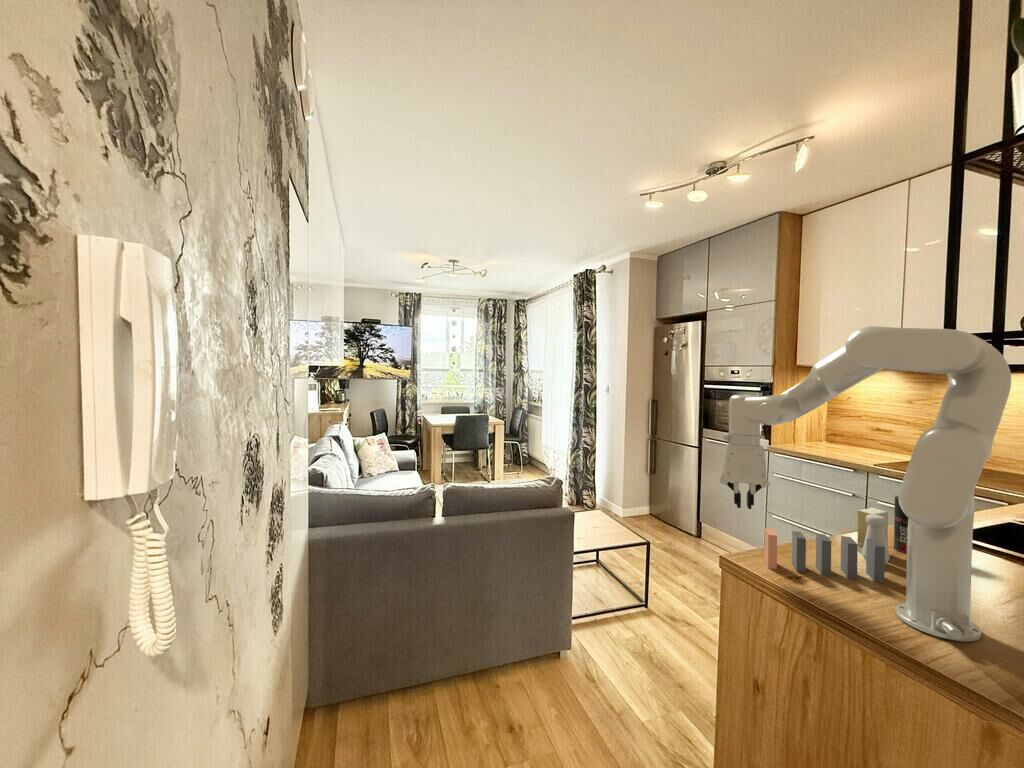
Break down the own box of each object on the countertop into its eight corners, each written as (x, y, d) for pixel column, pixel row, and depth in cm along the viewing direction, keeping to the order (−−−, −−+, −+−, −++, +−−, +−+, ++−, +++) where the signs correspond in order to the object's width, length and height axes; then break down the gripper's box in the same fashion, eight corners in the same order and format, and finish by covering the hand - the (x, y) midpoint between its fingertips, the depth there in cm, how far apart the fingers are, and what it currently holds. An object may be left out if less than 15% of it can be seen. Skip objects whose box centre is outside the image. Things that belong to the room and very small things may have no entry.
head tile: (776, 569, 116) (777, 535, 116) (768, 568, 117) (768, 534, 117) (773, 561, 121) (773, 529, 121) (764, 560, 122) (765, 528, 121)
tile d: (884, 583, 108) (884, 547, 108) (874, 582, 109) (874, 546, 109) (875, 574, 113) (876, 539, 113) (866, 573, 114) (866, 538, 113)
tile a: (805, 573, 114) (805, 538, 114) (796, 571, 115) (796, 537, 114) (800, 565, 119) (800, 531, 118) (791, 563, 119) (792, 531, 119)
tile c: (857, 579, 110) (857, 544, 110) (847, 578, 111) (847, 543, 110) (849, 571, 115) (850, 536, 114) (840, 570, 115) (841, 536, 115)
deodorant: (893, 551, 127) (894, 499, 126) (893, 544, 131) (894, 494, 131) (922, 556, 123) (923, 503, 122) (920, 550, 127) (921, 498, 127)
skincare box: (871, 548, 129) (872, 507, 128) (888, 554, 125) (889, 511, 124) (856, 551, 127) (856, 509, 126) (872, 557, 123) (873, 514, 122)
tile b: (830, 576, 112) (831, 541, 112) (821, 575, 113) (822, 540, 112) (824, 568, 117) (825, 534, 116) (815, 566, 117) (816, 533, 117)
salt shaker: (879, 559, 122) (880, 512, 121) (895, 568, 116) (896, 519, 115) (856, 558, 122) (857, 512, 122) (871, 567, 116) (872, 519, 116)
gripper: (713, 441, 119) (712, 508, 120) (780, 443, 114) (780, 514, 114) (711, 436, 126) (711, 500, 127) (774, 439, 121) (774, 506, 121)
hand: (743, 506), depth 121 cm, fingers closed
